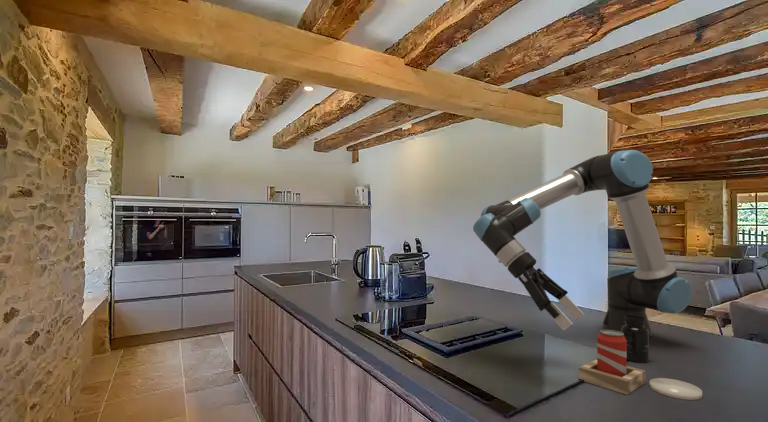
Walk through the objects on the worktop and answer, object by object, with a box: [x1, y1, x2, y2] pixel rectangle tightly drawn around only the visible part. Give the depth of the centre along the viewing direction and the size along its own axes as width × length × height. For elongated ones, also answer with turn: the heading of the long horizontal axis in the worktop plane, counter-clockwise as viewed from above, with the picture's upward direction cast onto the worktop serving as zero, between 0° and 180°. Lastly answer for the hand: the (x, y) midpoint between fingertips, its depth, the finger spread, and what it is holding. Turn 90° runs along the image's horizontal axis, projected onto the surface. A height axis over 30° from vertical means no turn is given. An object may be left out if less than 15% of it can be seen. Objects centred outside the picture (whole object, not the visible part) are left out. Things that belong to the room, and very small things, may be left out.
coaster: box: [649, 377, 703, 401], centre depth 95 cm, size 10×10×1 cm
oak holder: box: [578, 359, 646, 395], centre depth 100 cm, size 11×11×3 cm
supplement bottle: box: [621, 315, 650, 363], centre depth 117 cm, size 7×7×12 cm
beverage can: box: [596, 329, 628, 377], centre depth 100 cm, size 6×6×12 cm
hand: (574, 322), depth 105 cm, fingers open, 13 cm apart
